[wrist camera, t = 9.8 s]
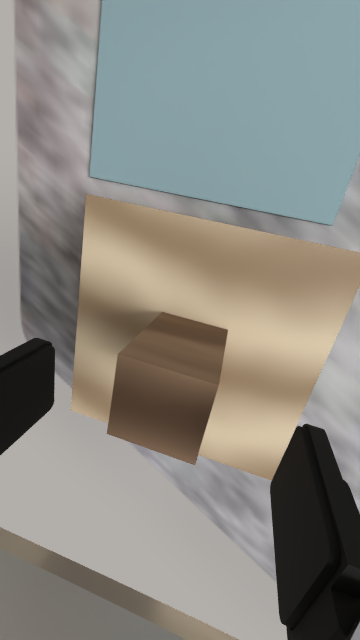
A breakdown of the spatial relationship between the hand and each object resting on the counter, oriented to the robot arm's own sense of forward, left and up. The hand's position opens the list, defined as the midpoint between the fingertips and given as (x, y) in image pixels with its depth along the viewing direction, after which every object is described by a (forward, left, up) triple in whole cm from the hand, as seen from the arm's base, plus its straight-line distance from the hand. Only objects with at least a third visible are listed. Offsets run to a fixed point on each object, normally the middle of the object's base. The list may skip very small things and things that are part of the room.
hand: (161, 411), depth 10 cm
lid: (+1, 0, -8) cm, 8 cm away
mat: (-17, -2, -13) cm, 22 cm away
